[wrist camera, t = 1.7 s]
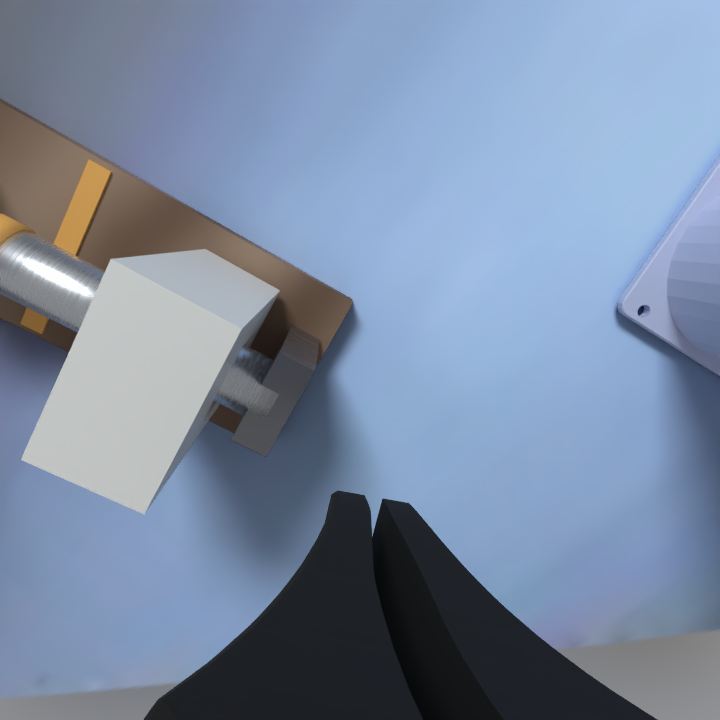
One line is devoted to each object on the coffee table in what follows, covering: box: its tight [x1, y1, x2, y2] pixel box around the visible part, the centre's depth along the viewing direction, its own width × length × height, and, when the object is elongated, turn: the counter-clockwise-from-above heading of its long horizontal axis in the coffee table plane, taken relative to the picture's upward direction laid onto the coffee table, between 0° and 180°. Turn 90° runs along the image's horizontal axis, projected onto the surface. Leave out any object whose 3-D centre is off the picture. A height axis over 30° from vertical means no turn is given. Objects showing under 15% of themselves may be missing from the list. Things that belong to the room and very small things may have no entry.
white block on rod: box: [21, 249, 280, 514], centre depth 14 cm, size 3×5×7 cm, turn 150°
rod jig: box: [0, 99, 353, 457], centre depth 16 cm, size 15×7×6 cm, turn 60°
